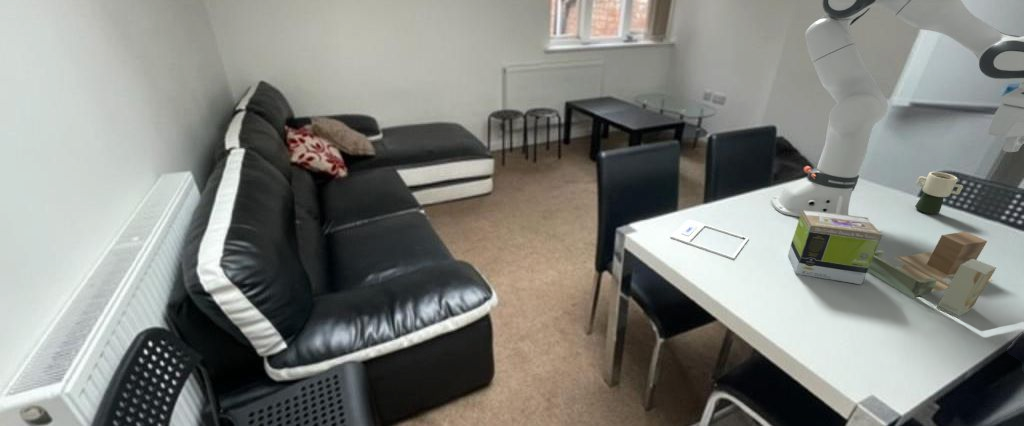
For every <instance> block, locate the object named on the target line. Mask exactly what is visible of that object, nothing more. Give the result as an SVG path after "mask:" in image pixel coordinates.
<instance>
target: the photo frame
mask: <svg viewBox="0 0 1024 426" xmlns="http://www.w3.org/2000/svg"><path fill="white" fill-rule="evenodd" d="M704 228H708V229H711V230H714V231H717V232H720V233H723V234H727V235H730V236H733V237H736V238H739V239H744V240H743V241H742V243H741V244H740V246H738V248H737V249H736V251H735V252H734V253H733V254H732V255H731V254H730V255H729V254H727V253H723V252H721V251H718V250H715V249H712V248H709V247H707V246H703V245H701V244H698V243H695V242H692V241H693V240H694V238H695V237H696V236H697V235H698V234H699V233H700V232H701V231H702V230H703V229H704ZM670 239H673V240H674V241H675V240H676V241H677V242H681V243H684V244H687V245H689V246H692V247H696V248H699V249H701V250H704V251H707V252H710V253H713V254H717V255H719V256H722V257H725V258H728V259H731V260H735V258H736V257H737V256H738V255H739V253H740V252H741V250H742V249H743V248H744V246H745V245H746V243H748V241H749V240H750V237H748V236H744V235H741V234H737V233H734V232H732V231H728V230H724V229H721V228H717V227H715V226H712V225H708V224H705V223H702V222H699V221H696V220H692V219H687V220H686V221H685V222H684V223H683V224H682V225H681V226H680V227H679V228H678V229H677V230H675V232H673V234H671V235H670Z"/></svg>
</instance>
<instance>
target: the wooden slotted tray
mask: <svg viewBox="0 0 1024 426" xmlns="http://www.w3.org/2000/svg"><path fill="white" fill-rule="evenodd" d="M884 253H885V251H883V250H881V249H880V250H877V249H876V251H875V254H874V256H873V259H872V261H871V263H870V266H869V268H868V271H867V273H869V274H871V275H873V276H874V277H876V278H878V279H880V280H881V281H883V282H884V283H886V284H888V285H890V286H891V287H893V288H895V289H897V290H898V291H900V292H902V293H903V294H905V295H906V296H909V297H911V298H912V299H916V298H922V296H921V295H924V294H928V293H929V294H930V293H933V292H938V291H946V290H947V288H948V286H949V284H950V283H951V282H948V281H946V280H944V278H951V277H954V276H955V274H956V273H955V274H949V275H947V274H945V273H943V272H941V271H939V270H937V269H935V268H933V267H931V266H929V265H927V263H928V261H929V259H930V257H931V255H932V253H933V251H929V252H923V253H915V254H911V255H905V256H898V257H894V258H893V259H894V260H897V261H898V262H900V263H902V264H904V265H903V266H895V265H893V264H892V263H890V262H888V261H886V260H884V259H882V257H883V255H884ZM991 281H993V278H990V279H989V281H988V282H991Z"/></svg>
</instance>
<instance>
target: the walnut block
mask: <svg viewBox="0 0 1024 426" xmlns="http://www.w3.org/2000/svg"><path fill="white" fill-rule="evenodd" d="M987 242H988V240H986V239H983V238H981V237H978V236H976V235H973V234H971V233H969V232H967V231H961V232H954V233H948V234H942V235H941V236H940V238H939V240H938V242H937V244H936V246H935V248H934V249H933V251H932V252H933V253H932V255H931V257H930V259H929V261H928V263H927V265H929V266H931V267H933V268H935V269H937V270H939V271H941V272H943V273H945V274H947V275H949V274H955V273H956V272H957V270H958V268H959V267H960V265H961V264H963V263H965V262H966V261H969V260H971V259H975V260H978V258H979V256H980V254H981V253H982V251H983V249H984V248H985V246H986V244H987Z"/></svg>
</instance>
